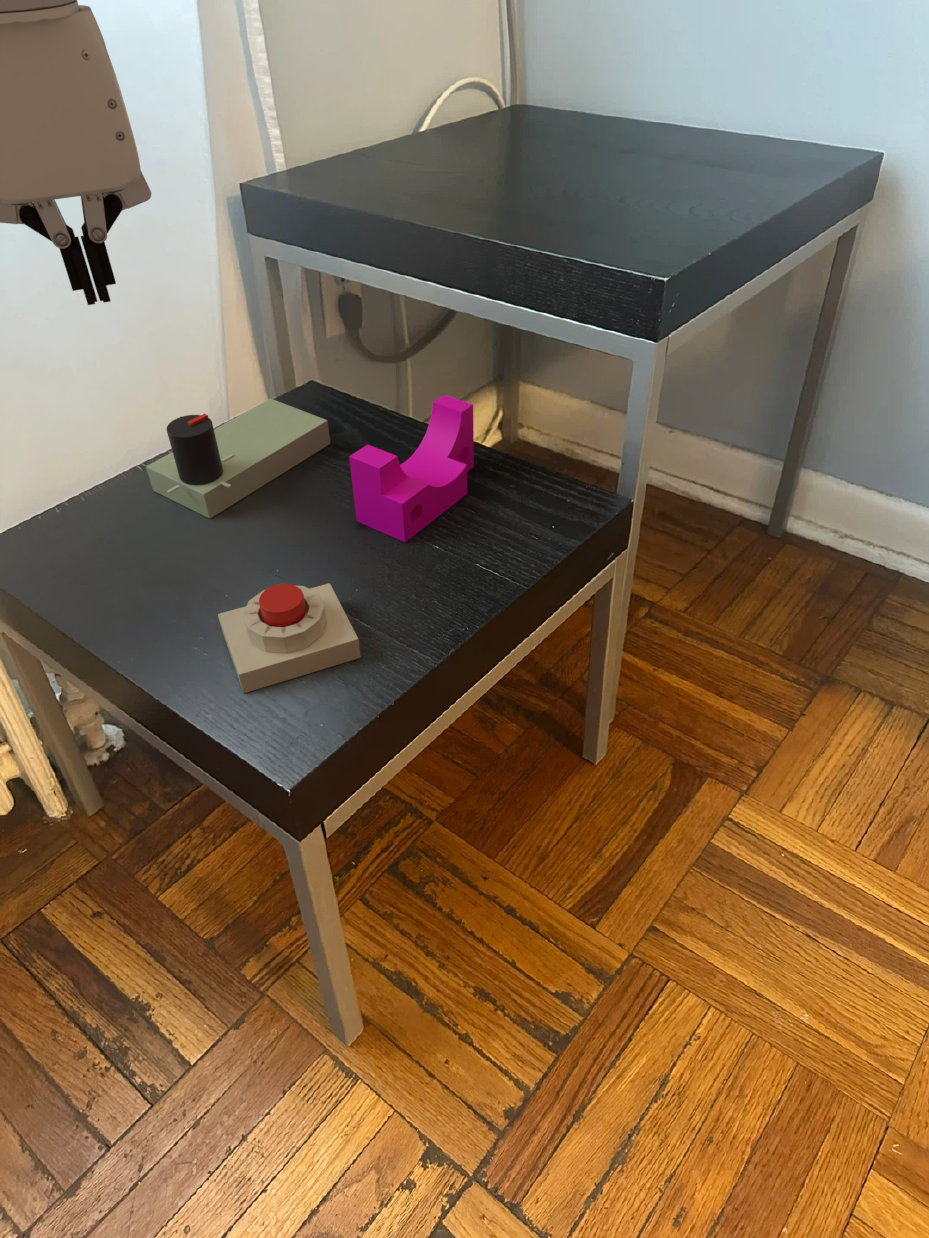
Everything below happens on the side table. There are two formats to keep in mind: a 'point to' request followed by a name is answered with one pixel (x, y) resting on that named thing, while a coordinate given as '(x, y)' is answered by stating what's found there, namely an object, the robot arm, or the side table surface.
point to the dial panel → (246, 456)
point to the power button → (282, 605)
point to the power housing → (289, 640)
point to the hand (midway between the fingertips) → (97, 296)
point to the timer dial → (195, 449)
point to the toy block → (416, 474)
